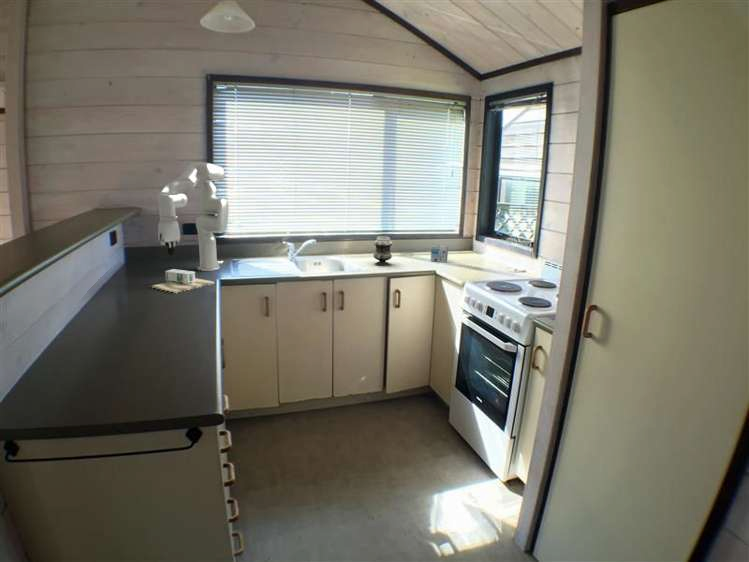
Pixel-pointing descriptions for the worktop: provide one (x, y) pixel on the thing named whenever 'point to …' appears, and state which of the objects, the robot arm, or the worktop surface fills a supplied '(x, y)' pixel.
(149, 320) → the worktop surface
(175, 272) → the syrup box
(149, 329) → the worktop surface
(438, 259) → the light bulb box
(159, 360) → the worktop surface
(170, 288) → the chopping board
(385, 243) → the apothecary jar
